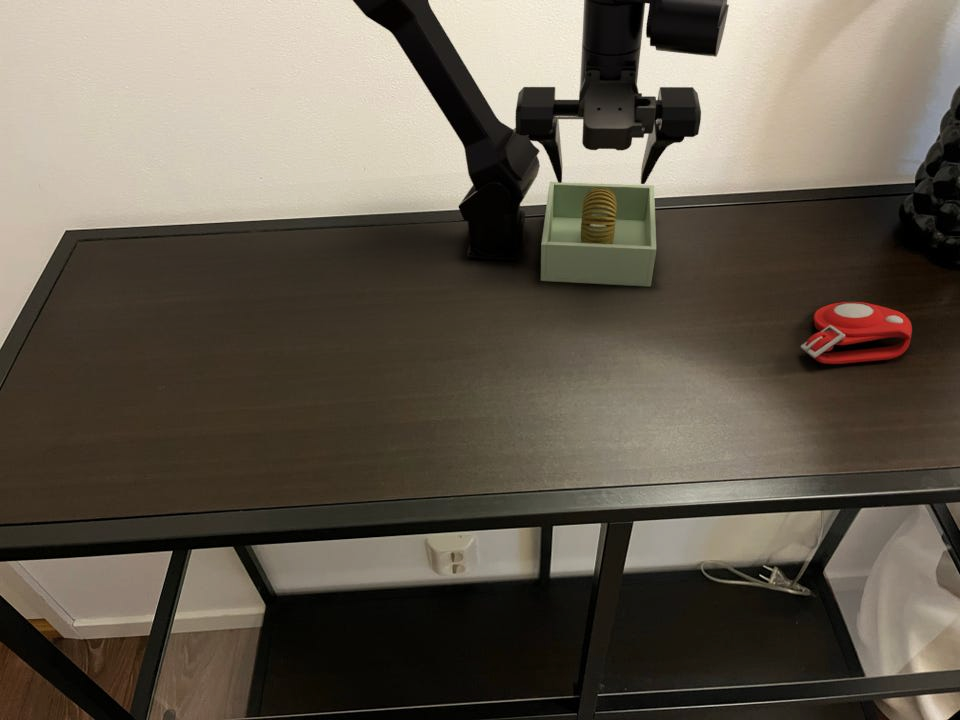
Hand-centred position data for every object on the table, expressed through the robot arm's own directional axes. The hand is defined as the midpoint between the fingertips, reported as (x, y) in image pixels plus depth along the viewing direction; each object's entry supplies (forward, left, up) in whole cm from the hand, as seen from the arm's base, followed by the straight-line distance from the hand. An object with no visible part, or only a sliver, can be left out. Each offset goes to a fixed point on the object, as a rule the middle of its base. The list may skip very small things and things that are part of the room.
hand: (601, 181), depth 84 cm
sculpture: (0, +3, -12) cm, 12 cm away
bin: (0, +3, -12) cm, 12 cm away
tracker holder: (+27, -11, -12) cm, 32 cm away
